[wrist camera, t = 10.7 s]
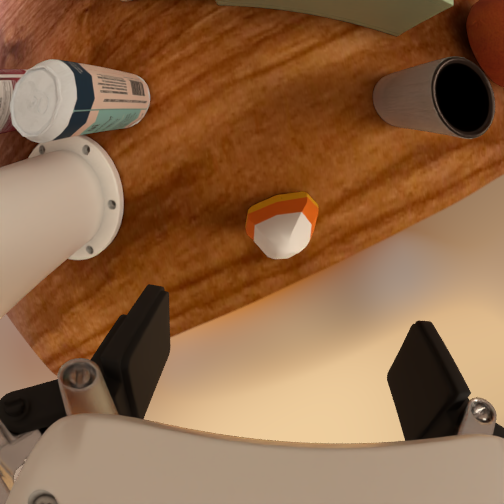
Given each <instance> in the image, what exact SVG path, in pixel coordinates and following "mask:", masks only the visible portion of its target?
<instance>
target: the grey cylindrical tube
mask: <svg viewBox="0 0 504 504" xmlns="http://www.w3.org/2000/svg"><path fill="white" fill-rule="evenodd" d="M373 103H374V107H375V109H376V111H377V113H378V114H379V116H380V117H381V118H382V119H383V120H384V121H385V122H387V123H388V124H390V125H393V126H396V127H400V128H408V129H415V130H421V131H427V132H433V133H439V134H445V135H450V136H455V137H460V138H466V139H472V138H476V137H479V136H481V135H482V134H484V133H485V132H486V131H487V130H488V128H489V127H490V125H491V123H492V121H493V118H494V113H495V98H494V93H493V90H492V87H491V84H490V82H489V80H488V78H487V77H486V75H485V74H484V72H483V71H482V70H481V69H480V68H479V67H478V66H477V65H476V64H474V63H473V62H472V61H470V60H468V59H465V58H463V57H457V56H454V57H448V58H444V59H440V60H436V61H432V62H428V63H425V64H421V65H418V66H414V67H411V68H408V69H404V70H401V71H398V72H395V73H392V74H389V75H386V76H384V77H383V78H381V79H380V80H379V81H378V82H377V84H376V86H375V88H374V91H373Z"/></svg>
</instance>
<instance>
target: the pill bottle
mask: <svg viewBox="0 0 504 504" xmlns="http://www.w3.org/2000/svg"><path fill="white" fill-rule="evenodd" d="M27 70H28V69H0V134H1V133H5V132H10V131H15V130H17V129H16V128H15V127H14V126H13V125H12V120H11V112H10V101H11V97H12V94H13V91H14V87H15V84H16V83H17V82H18V80H19V79H20V78H21V77H22V76H23V75H24V74H25V72H26V71H27Z"/></svg>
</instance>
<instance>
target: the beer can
mask: <svg viewBox="0 0 504 504" xmlns="http://www.w3.org/2000/svg"><path fill="white" fill-rule="evenodd" d="M149 104H150V92H149V88H148V86H147V84H146V82H145V81H144V80H143V79H142V78H140V77H139V76H137V75H135V74H131V73H126V72H122V71H117V70H113V69H108V68H103V67H98V66H92V65H87V64H81V63H75V62H69V61H62V60H54V59H51V60H46V61H43V62H41V63H39V64H37V65H35V66H34V67H32V68H31V69H28V70H27V71H26V72H25V74H24V75H23V76H22V77H21V78H20V79H19V80H18V82H17V83H16V84H15V87H14V91H13V94H12V97H11V101H10V112H11V120H12V125H13V126H14V127H15V128H16V129H17V131H18V132H19V133H20V134H21V135H22V136H23V137H26V138H27V139H29V140H30V141H33V142H37V143H46V142H50V141H54V140H58V139H63V138H68V137H73V136H79V135H84V134H90V133H96V132H102V131H108V130H115V129H122V128H129V127H131V126H133V125H135V124H137V123H138V122H139V121H140V120H141V119H142V118H143V117H144V116H145V114H146V112H147V110H148V107H149Z"/></svg>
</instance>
